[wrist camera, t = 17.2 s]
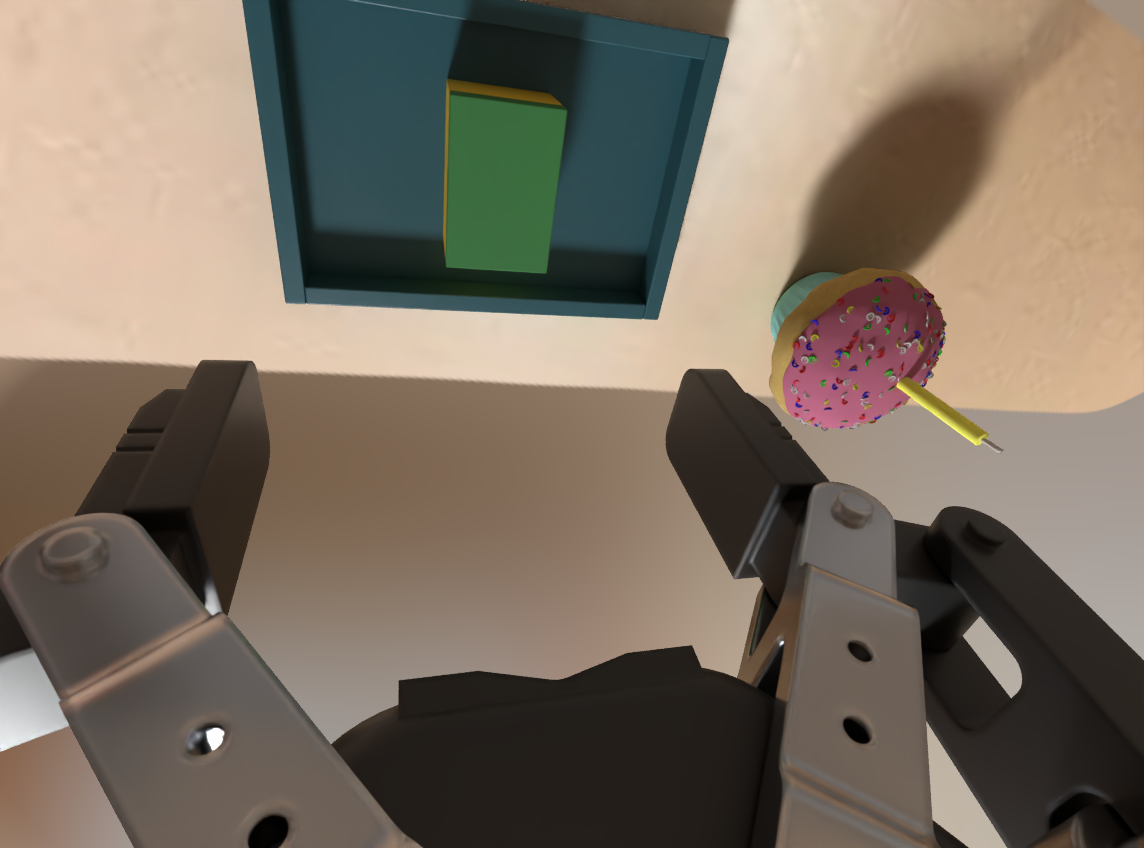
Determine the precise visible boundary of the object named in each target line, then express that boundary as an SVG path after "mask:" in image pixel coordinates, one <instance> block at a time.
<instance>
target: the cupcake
mask: <svg viewBox="0 0 1144 848" xmlns="http://www.w3.org/2000/svg"><path fill="white" fill-rule="evenodd" d="M933 298H934V295H933V294H931V293H929V291H928V290H927V289H926V288H924V287H923V286H922V284H921V283H920V282H919V281H918V280H917V279H915V278H914V277H913V276H911V275H909V274H907V273H905V272H901V271H894V270H881V269H875V268H861V269H858V270H856V271H853V272H850V273H848V274H845V275H843V274H838V273H833V272H819V273H815V274H812V275H809V276H806V277H804V278H802V279H801V280H799V281H797V282H796V283H795V284H793V285H792V286H791V287H790V288H789V289H788V290H787V291H786V292H785V293H784V294H783V295H782V297H781V298H780V299H779V301H778V303H777V304H776V306H775V309H774V311H773V314H772V318H771V332H772V336H773V338H774V341H775V346H774V350H773V353H772V373H771V376H770V378H769V386H770V389H771V391H772V394H773V396H774V398H775V399H776V401H777V403H778V404H779V405H780V407H781V408H782V409H783V410H784V411H785V412H786V413H788V414H789V415H791V416H793V417H794V418H796V419H797V420H798V421H799V422H804V423H803V424H804V425H809V424H810V425H813V426H817V427H821V430H823V431H826V430H828V428H847V427H849V428H850V429H855V428H856V427H860V425H862V424H866V423H875V422H876V419H879V418H880V417H881V416H883V415H885V414H888V413H893V410H895V409H897V408H898V407H900V406H902V405H905V404H906V403H907V402H908V399H909V398H910V397H911V398H912V399H914V400H915V401H917V402H918V403H919V404H921V405H922V406H923V407H925V408H926V409H927V410H929V411H930V412H931V413H933V414H934V415H936V416H937V417H938V418H940V419H941V420H942V421H944V422H945V423H946V424H948V425H949V426H951V427H952V428H953V429H955V430H956V431H957V432H959V433H960V434H961V435H963V436H964V437H966V438H967V439H968V440H969V441H971V442H972V443H974V444H975V445H980V444H982V443H984V444H986V445H987V446H989V447H990V448H992V449H993V450H994V451H996V452H998V453H1002V452H1003V449H1001V448H999V447H998V446H996V445H995V444H994V443H992V442H990V441H989V440H987V438H988V433H987V432H985V431H984V430H982V429H981V428H980V427H978V426H977V425H975V424H974V423H973V422H971V421H970V420H968V419H967V418H966V417H964V416H962V415H961V414H960V413H958V412H957V411H956V410H954V409H953V408H951V407H950V406H949V405H947V404H946V403H944V402H943V401H941V400H940V399H939V398H937V397H936V396H934V395H933V394H932V393H930V392H929V391H927V390H926V389H924V388H923V387H924V386H925V385H926V383H927V380H928V379H931V378H932V377H933V376H934V374H933V373H932V371H931V370H932V368H934V367H935V366H936V362H937V361H938V360H939V358H938V357H937V356H940V355H941V353H942V350H941V348H942V347H943V345H944V344H945V340H946V338H945V336H944V335H945V332H944V329H945V328H944V327H945V326H946V325H947V323H946V322H945V321H944V320H943V316H942V313H941V311H940V309H942V308H940V307H939V306H938V305H937V304H936V302H935V300H934V299H933ZM944 323H945V324H944ZM943 338H944V339H943ZM936 358H937V359H936ZM931 374H932V376H931ZM930 376H931V377H930ZM923 384H924V385H923ZM822 427H824V428H826V429H824V428H822ZM851 427H853V428H851Z"/></svg>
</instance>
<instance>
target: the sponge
mask: <svg viewBox="0 0 1144 848" xmlns="http://www.w3.org/2000/svg"><path fill="white" fill-rule="evenodd" d="M567 112H568V111H567V109H566V108H565V107H564V106H563V105H562V104H561V103H560V102H559V101H557V100H556V99H555V98H554V97H553V96H552V95H551V94H550V93H544V92H537V91H530V90H523V89H516V88H509V87H502V86H495V85H488V84H480V83H473V82H466V81H459V80H452V79H447V80H446V123H445V169H444V214H443V240H444V251H445V262H446V267H452V268H468V269H483V270H499V271H515V272H531V273H547V266H548V259H549V251H550V243H551V235H552V228H553V220H554V212H555V204H556V197H557V189H558V181H559V174H560V166H561V158H562V150H563V143H564V135H565V127H566V119H567Z"/></svg>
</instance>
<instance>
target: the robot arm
mask: <svg viewBox="0 0 1144 848" xmlns="http://www.w3.org/2000/svg"><path fill="white" fill-rule="evenodd" d="M666 450H667V454H668V457H669V459H670V461H671V463H672V465H673V467H674V469H675V471H676V472H677V474H678V476H679V478H680V480H681V482H682V483H683V485H684V487H685V489H686V491H687V493H688V495H689V497H690V498H691V500H692V502H693V504H694V506H695V508H696V510H697V511H698V513H699V515H700V517H701V519H702V521H703V523H704V524H705V526H706V528H707V530H708V532H709V534H710V535H711V537H712V539H713V541H714V543H715V545H716V547H717V548H718V550H719V552H720V554H721V556H722V558H723V559H724V561H725V563H726V565H727V567H728V569H729V571H730V572H731V574H732V576H733V578H734V579H741V578H753V577H759V578H760V580H761V581H762V583H763V585H762V587H761V589H760V591H759V593H758V595H757V598H756V602H755V607H754V611H753V615H752V619H751V623H750V628H749V632H748V636H747V641H746V644H745V649H744V653H743V657H742V662H741V665H740V669H739V673H738V676H737V678H736V677H733V676H730V675H728V674H725V673H721V672H717V671H714V670H710V669H706V668H701V665H700V663H699V661H698V658H697V656H696V654H695V652H694V649H693V647H692V646H682V647H674V648H666V649H657V650H649V651H640V652H632V653H626V654H624V655H621V656H619V657H616V658H614V659H611V660H609V661H606V662H604V663H602V664H599V665H597V666H594V667H592V668H589V669H587V670H584V671H582V672H580V673H577V674H575V675H572V676H570V677H568V678H564V679H560V680H549V679H541V678H532V677H523V676H516V675H507V674H499V673H491V672H483V671H474V672H465V673H458V674H449V675H441V676H432V677H424V678H416V679H407V680H399V705H397V706H394V707H392V708H389V709H387V710H385V711H382V712H380V713H378V714H376V715H374V716H372V717H370V718H368V719H366V720H365V721H363V722H361V723H359V724H358V725H356V726H355V727H353V728H352V729H350V730H349V731H347V732H346V733H345V734H343V735H342V736H341V737H339V738H338V739H337V740H336V741H335V742H333V743H332V744H330V743H329V742H328V740H327V739H326V738H325V736H324V735H323V734H322V733H321V731H320V730H319V729H318V728H317V727H316V725H315V724H314V723H313V721H312V720H311V719H310V718H309V716H308V715H307V714H306V713H305V711H304V710H303V709H302V708H301V707H300V705H299V704H298V703H297V701H296V700H295V699H294V698H293V697H292V695H291V694H290V693H289V692H288V690H287V689H286V688H285V686H284V685H283V684H282V683H281V681H280V680H279V679H278V678H277V676H276V675H275V674H274V673H273V671H272V670H271V669H270V668H269V667H268V665H267V664H266V663H265V661H264V660H263V659H262V658H261V656H260V655H259V654H258V653H257V652H256V650H255V649H254V648H253V647H252V645H251V644H250V643H249V642H248V640H247V639H246V638H245V636H244V635H243V634H242V633H241V631H240V630H239V629H238V628H237V627H236V625H235V624H234V623H233V622H232V621H231V620H230V618H229V617H228V612H229V609H230V605H231V601H232V598H233V594H234V591H235V587H236V583H237V580H238V576H239V572H240V569H241V565H242V561H243V558H244V554H245V550H246V547H247V543H248V540H249V536H250V532H251V528H252V525H253V521H254V518H255V514H256V510H257V507H258V503H259V500H260V495H261V492H262V488H263V485H264V481H265V477H266V474H267V470H268V466H269V458H270V441H269V432H268V427H267V421H266V416H265V410H264V405H263V400H262V394H261V389H260V383H259V378H258V373H257V369H256V366H255V364H254V362H253V361H235V360H202V361H201V362H200V363H199V364H198V366H197V368H196V370H195V372H194V374H193V376H192V378H191V380H190V382H189V384H188V385H187V388H186V389H184V390H183V389H182V390H181V389H175V390H174V389H166V390H164V391H163V392H162V393H160V394H159V395H157V396H156V397H155V398H153V399H152V400H150V401H149V402H147V403H146V404H145V405H143V406H142V407H140V409H139V410H138V412H137V414H136V415H135V417H134V419H133V420H132V422H131V423H130V425H129V427H128V428H127V434H124V435H123V437H122V438H121V440H120V442H119V443H118V445H117V447H116V452H113V453H112V455H111V457H110V458H109V460H108V461H107V463H106V465H105V466H104V468H103V470H102V471H101V473H100V475H99V476H98V478H97V480H96V481H95V483H94V485H93V486H92V488H91V490H90V491H89V493H88V495H87V497H86V498H85V499H84V501H83V503H82V505H81V506H80V508H79V509H78V511H77V513H76V514H75V516H74V517H72V518H68V519H64V520H62V521H59V522H56V523H53V524H51V525H49V526H46V527H44V528H42V529H40V530H39V531H37V532H35V533H33V534H31V535H30V536H29V537H27V538H26V539H24V540H23V541H22V542H20V543H19V544H18V545H17V546H16V547H14V548H13V549H12V550H11V552H10V553H9V554H8V555H7V556H6V557H5V559H4V561H3V562H2V564H1V566H0V751H3V750H6V749H8V748H11V747H13V746H16V745H19V744H22V743H24V742H27V741H30V740H32V739H35V738H37V737H40V736H43V735H46V734H48V733H51V732H54V731H56V730H59V729H62V728H64V727H67V726H70V727H71V729H72V731H73V733H74V735H75V737H76V739H77V741H78V743H79V745H80V746H81V748H82V750H83V752H84V754H85V756H86V758H87V760H88V761H89V763H90V765H91V767H92V769H93V771H94V773H95V775H96V777H97V779H98V781H99V782H100V784H101V786H102V788H103V790H104V792H105V794H106V796H107V797H108V799H109V801H110V803H111V805H112V807H113V809H114V811H115V813H116V815H117V816H118V818H119V820H120V822H121V824H122V826H123V828H124V830H125V832H126V833H127V835H128V837H129V839H130V841H131V843H132V845H133V847H134V848H968V847H967V846H965V844H963V843H962V842H961V841H959V840H958V839H957V838H955V837H954V836H953V835H951V834H950V833H949V832H948V831H946V830H945V829H944V828H942V827H941V826H940V825H938V824H937V823H936V822H935V821H933V820H932V807H931V792H930V776H929V759H928V745H927V728H926V721H927V722H928V724H929V726H930V727H931V729H932V730H933V732H934V733H935V735H936V737H937V738H938V740H939V741H940V743H941V744H942V746H943V748H944V749H945V751H946V752H947V754H948V755H949V757H950V759H951V760H952V762H953V763H954V765H955V766H956V768H957V770H958V771H959V772H960V774H961V776H962V777H963V779H964V780H965V782H966V784H967V785H968V787H969V788H970V790H971V791H972V793H973V795H974V796H975V798H976V799H977V800H978V802H979V804H980V805H981V807H982V809H983V810H984V812H985V813H986V815H987V817H988V818H989V820H990V821H991V823H992V824H993V826H994V827H995V829H996V831H997V832H998V834H999V835H1000V837H1001V838H1002V840H1003V841H1004V843H1005V845H1006V846H1007V848H1144V660H1143V659H1142V658H1141V657H1140V656H1139V655H1138V654H1137V653H1136V652H1135V651H1134V650H1133V649H1132V648H1131V647H1129V646H1128V644H1127V643H1126V642H1124V640H1122V638H1121V637H1119V635H1117V634H1116V633H1115V632H1114V631H1113V630H1112V629H1111V628H1110V627H1109V626H1108V625H1107V624H1106V623H1105V622H1104V621H1103V620H1102V619H1101V618H1100V617H1099V616H1098V615H1097V614H1096V613H1095V612H1094V611H1093V610H1092V609H1091V608H1090V607H1089V606H1088V605H1087V604H1086V603H1085V602H1084V601H1083V600H1082V599H1081V598H1080V597H1079V596H1078V595H1077V594H1076V593H1075V592H1074V591H1073V590H1072V589H1071V588H1070V587H1069V586H1068V585H1067V584H1066V583H1065V582H1064V581H1063V580H1062V579H1061V578H1060V577H1059V576H1058V575H1057V574H1056V573H1055V572H1054V571H1052V569H1051V568H1050V567H1048V565H1047V564H1045V563H1044V562H1043V561H1042V560H1041V559H1040V558H1039V557H1038V556H1037V555H1036V554H1035V553H1034V552H1033V551H1032V550H1031V549H1030V548H1029V547H1028V546H1027V545H1026V544H1025V543H1024V542H1023V541H1022V540H1021V539H1020V538H1019V537H1018V536H1017V535H1016V534H1015V533H1014V532H1013V531H1012V530H1010V529H1009V528H1008V527H1007V526H1005V525H1004V524H1002V523H1001V522H999V521H998V520H996V519H994V518H992V517H990V516H988V515H986V514H984V513H982V512H979V511H976V510H974V509H970V508H966V507H959V506H951V507H947V508H944V509H943V510H941V512H940V513H939V514H938V516H937V517H936V519H935V520H934V521H933V523H932V524H931V526H930V527H929V526H924V525H919V524H914V523H908V522H904V521H898V520H894V519H893V517H892V515H891V514H890V512H889V511H888V510H887V508H886V507H885V506H884V505H883V504H882V503H881V502H879V501H878V500H877V499H876V498H875V497H873V496H871V495H870V494H868V493H867V492H865V491H863V490H861V489H859V488H856V487H854V486H851V485H848V484H844V483H839V482H830V481H829V480H828V479H827V478H826V476H825V475H824V474H823V473H822V472H821V471H820V469H819V468H818V467H817V466H816V464H815V463H814V462H813V461H812V460H811V459H810V457H809V456H808V455H807V454H806V452H805V451H804V450H803V449H802V448H801V446H800V445H799V444H798V443H797V441H796V440H792V436H791V434H790V433H789V432H788V431H787V430H786V428H785V427H781V422H780V421H779V420H778V419H777V417H776V416H775V415H774V414H773V413H772V411H771V410H770V409H769V408H768V407H767V406H766V405H764V404H763V403H761V402H760V401H758V400H757V399H756V398H754V397H753V396H751V395H750V394H748V393H745V392H744V391H743V390H742V388H741V387H740V386H739V385H738V383H737V382H736V381H735V380H734V378H733V377H732V376H731V375H730V373H729V372H728V371H726V370H724V369H689V370H688V371H686V373H685V374H684V376H683V378H682V381H681V384H680V388H679V391H678V394H677V398H676V401H675V404H674V408H673V411H672V414H671V418H670V421H669V424H668V428H667V432H666ZM980 616H981V617H982V619H983V620H984V621H985V622H986V623H987V625H988V626H989V627H990V628H991V630H992V631H993V632H994V633H995V634H996V635H997V637H998V638H999V639H1000V640H1001V642H1002V643H1003V644H1004V645H1005V646H1006V648H1007V649H1008V650H1009V651H1010V652H1011V654H1012V655H1013V656H1014V658H1015V659H1016V661H1017V662H1018V664H1019V667H1020V669H1021V673H1022V685H1021V688H1020V690H1019V691H1018V693H1017V694H1016V695H1015V696H1013V697H1012V698H1010V697H1009V695H1008V694H1007V693H1006V691H1005V690H1004V689H1003V688H1002V686H1001V685H1000V684H999V683H998V681H997V680H996V678H995V677H994V676H993V675H992V673H991V672H990V671H989V669H988V668H987V667H986V666H985V664H984V663H983V662H982V661H981V660H980V658H979V657H978V655H977V654H976V653H975V652H974V650H973V649H972V648H971V646H970V645H969V644H968V642H967V641H966V640H965V639H964V637H963V635H964V634H965V632H966V631H967V630H968V629H969V628H970V627H971V626H972V624H973V623H974V622H975V621H976V620H977V619H978V618H979V617H980Z"/></svg>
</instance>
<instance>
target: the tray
mask: <svg viewBox="0 0 1144 848" xmlns="http://www.w3.org/2000/svg"><path fill="white" fill-rule="evenodd" d="M242 2H243V9H244V16H245V23H246V30H247V37H248V44H249V51H250V58H251V65H252V72H253V79H254V86H255V93H256V100H257V107H258V114H259V121H260V128H261V135H262V142H263V149H264V156H265V163H266V170H267V177H268V184H269V191H270V198H271V205H272V212H273V219H274V225H275V232H276V239H277V246H278V253H279V260H280V267H281V274H282V281H283V288H284V295H285V302H286V303H291V304H306V302H307V304H318V305H340V306H362V307H384V308H406V309H427V310H449V311H471V312H493V313H515V314H537V315H559V316H581V317H603V318H625V319H642V318H643V319H650V320H657V319H658V317H659V313H660V309H661V305H662V301H663V297H664V293H665V290H666V286H667V282H668V278H669V274H670V270H671V266H672V262H673V258H674V254H675V250H676V247H677V243H678V239H679V235H680V231H681V227H682V223H683V219H684V215H685V211H686V208H687V204H688V200H689V196H690V192H691V188H692V184H693V180H694V176H695V172H696V168H697V165H698V161H699V157H700V153H701V149H702V145H703V141H704V137H705V133H706V129H707V126H708V122H709V118H710V114H711V110H712V106H713V102H714V98H715V94H716V90H717V86H718V83H719V79H720V75H721V71H722V67H723V63H724V59H725V55H726V51H727V47H728V44H729V39H728V38H726V37H721V36H717V35H712V34H707V33H702V32H696V31H691V30H685V29H679V28H674V27H668V26H663V25H657V24H652V23H646V22H640V21H635V20H629V19H624V18H618V17H613V16H607V15H602V14H596V13H590V12H585V11H579V10H574V9H568V8H563V7H557V6H551V5H546V4H540V3H535V2H529V1H524V0H242ZM447 79H452V80H459V81H466V82H473V83H480V84H488V85H495V86H502V87H509V88H516V89H523V90H530V91H537V92H544V93H550V94H551V95H552V96H553V97H554V98H555V99H556V100H557V101H559V102H560V103H561V104H562V105H563V106H564V107H565V108H566V109H567V111H568V112H567V119H566V127H565V135H564V143H563V150H562V158H561V166H560V174H559V181H558V189H557V197H556V204H555V212H554V220H553V228H552V235H551V243H550V251H549V259H548V266H547V273H531V272H515V271H499V270H483V269H468V268H452V267H446V262H445V251H444V240H443V214H444V169H445V123H446V80H447Z"/></svg>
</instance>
